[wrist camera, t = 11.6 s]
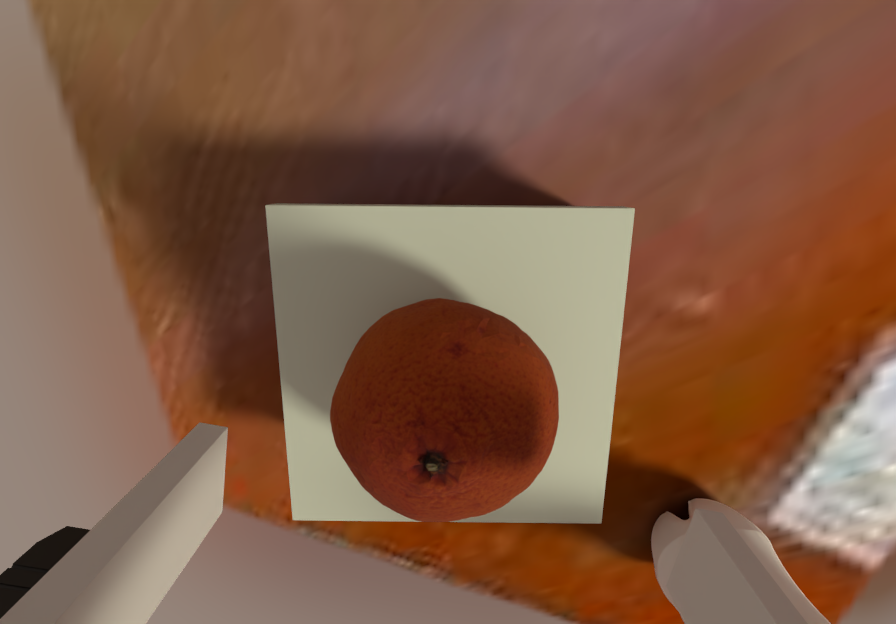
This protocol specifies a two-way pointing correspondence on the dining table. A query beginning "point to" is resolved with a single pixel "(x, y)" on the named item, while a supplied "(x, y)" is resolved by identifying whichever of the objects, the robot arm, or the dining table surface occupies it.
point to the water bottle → (674, 529)
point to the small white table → (461, 279)
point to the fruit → (445, 410)
